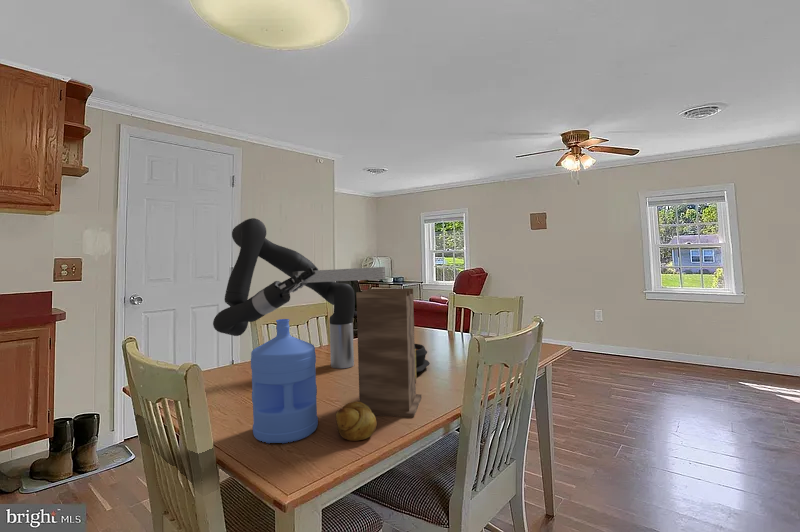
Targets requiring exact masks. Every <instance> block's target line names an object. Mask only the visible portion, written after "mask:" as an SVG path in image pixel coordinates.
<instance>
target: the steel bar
mask: <svg viewBox="0 0 800 532" xmlns="http://www.w3.org/2000/svg"><path fill="white" fill-rule="evenodd" d="M303 272H304V271H296V272H293V276H294V275H296V276H297V275H298V274H301V273H303ZM385 279H386V267H385V266H378V267H377V266H375V267H373V266H372V267H357V268H337V269H318V270H315V271H314V275H312V276H311V277H309V278H307V279H306V280H304V281H303V282H302V283H311V282H333V281H335V282H348V281H349V282H351V281H371V280H372V281H373V280H385Z"/></svg>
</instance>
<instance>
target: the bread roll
mask: <svg viewBox="0 0 800 532" xmlns="http://www.w3.org/2000/svg"><path fill="white" fill-rule="evenodd" d="M335 419H336V420H335V421H336V424H337V430H338V433H339V435H340V437H342V438H343V439H344V440H347V441H351V442H352V441H353V442H354V441H356V442H357V441H362V440H367V439H369V438H370V437H371V436H372V435H374V433H375V431H376V428H377V424H378V423H377V418H376V415H374V414H373V413H372V411H371V409H370V408H369V407H368V406H367V405H365V404H364V403H362V402H359V401H357V400H356V401H352V402H348V403H345V405H344V406H343V407H341V408H340V409H339V410H338V411H337V412H336V414H335Z"/></svg>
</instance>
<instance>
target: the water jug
mask: <svg viewBox="0 0 800 532" xmlns="http://www.w3.org/2000/svg"><path fill="white" fill-rule="evenodd" d="M275 322H276V327H275V329H276V336H274V337H273V338H271V339H269V340H268V341H266V342H264V343H263V344H261V345H258V346H257V347H255V348H254V349H252V351H251V352H250V355H251V356H250V369H251V389H252V391H251V401H252V402H251V403H252V413H253V414H252V416H253V420H252V421H253V422H252V423H253V424H252V434H253V436H254V438H255V439H256V440H258V441H259V442H261V441H262V442H261V443H264V442H266V443H265V444H270V443H282V444H289V443H293V441H294V442H298V441H300V440H302V439H306V438H307V437H309V436H310V435H312V434H313V433H314V432H316V430H317V428H318V424H319V419H318V406H317V404H318V403H317V394H318V389H317V387H318V386H317V376H316V375H317V372H316V363H317V355H316V347H315V345H314V344H313V343H311V342H307V341H305V340H302V339H300V338H298V337H294V336H292V335H291V334H290V329H291V328H290V327H291V325H290V324H289V323H290V319H289V318H281V319H276V320H275ZM288 442H289V443H288Z"/></svg>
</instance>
